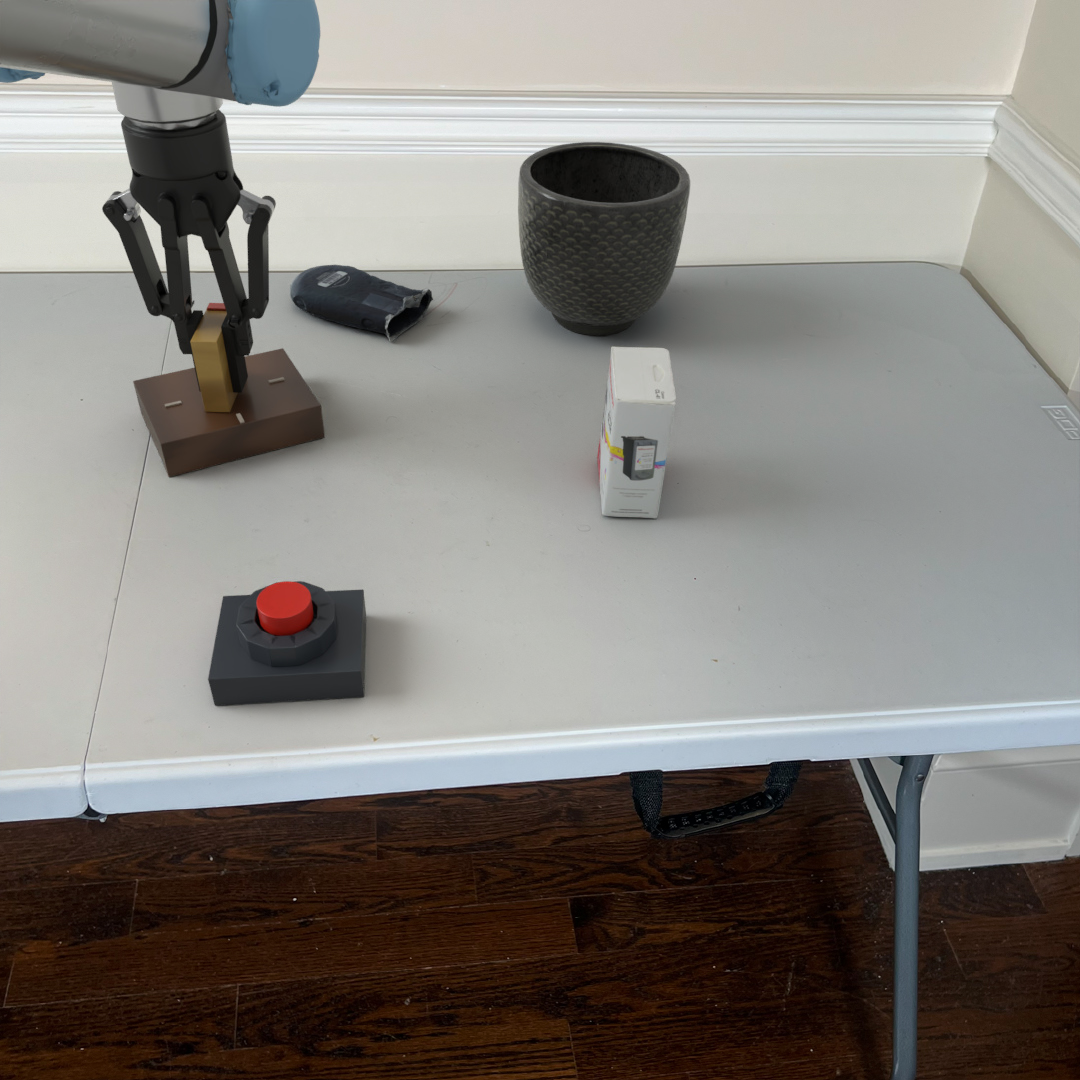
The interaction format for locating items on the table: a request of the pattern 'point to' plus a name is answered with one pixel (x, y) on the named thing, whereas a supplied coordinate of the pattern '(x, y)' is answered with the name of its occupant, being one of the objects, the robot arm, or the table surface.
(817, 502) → the table surface
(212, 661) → the grey square base
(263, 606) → the button
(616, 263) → the planter
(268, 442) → the plate
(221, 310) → the thumb turn
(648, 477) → the ink box
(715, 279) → the table surface
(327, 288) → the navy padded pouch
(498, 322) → the table surface
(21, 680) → the table surface
